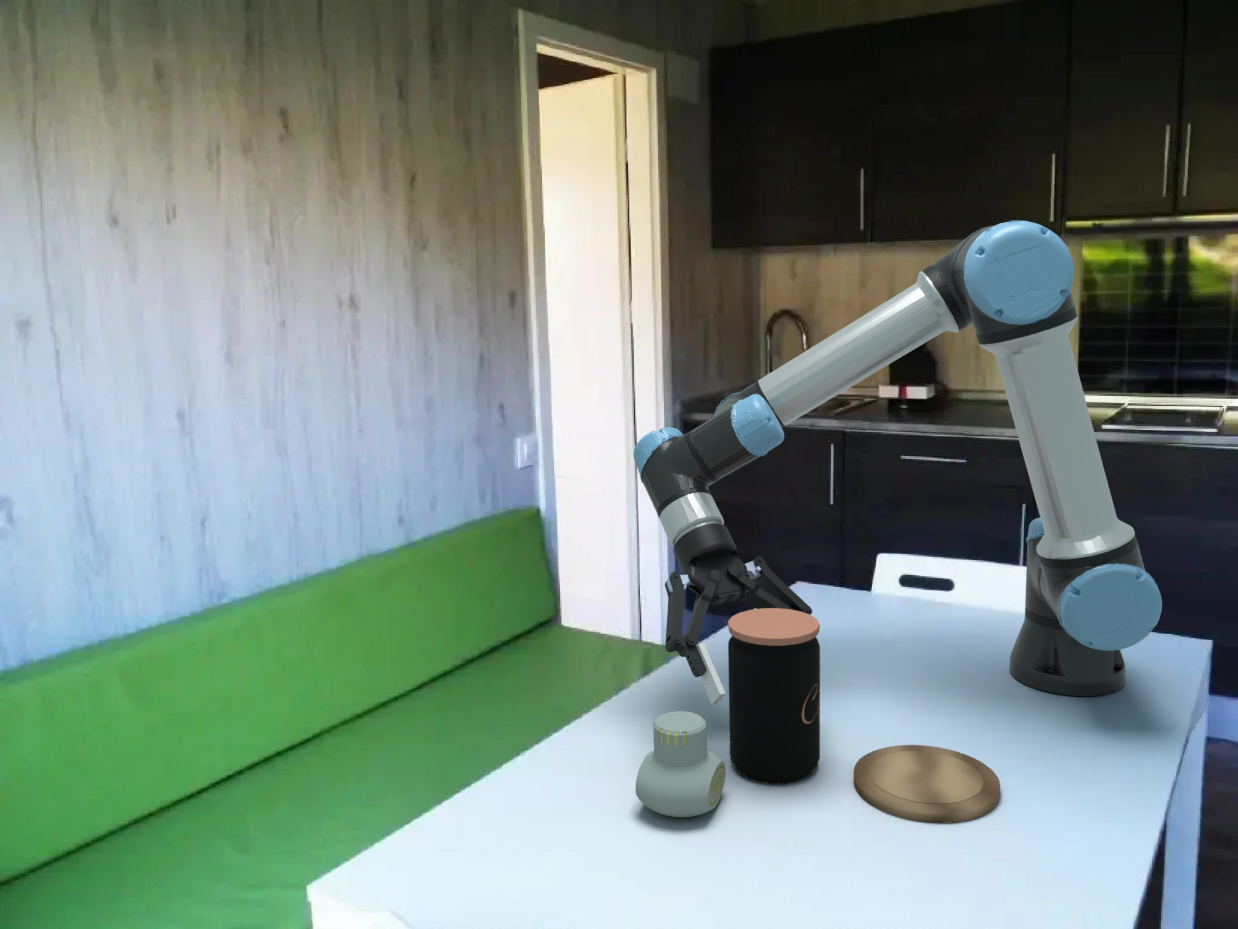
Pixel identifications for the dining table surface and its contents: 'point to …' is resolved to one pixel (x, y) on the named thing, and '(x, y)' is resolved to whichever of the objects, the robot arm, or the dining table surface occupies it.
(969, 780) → the trivet
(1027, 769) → the dining table surface
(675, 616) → the robot arm
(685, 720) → the air freshener
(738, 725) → the coffee jar
